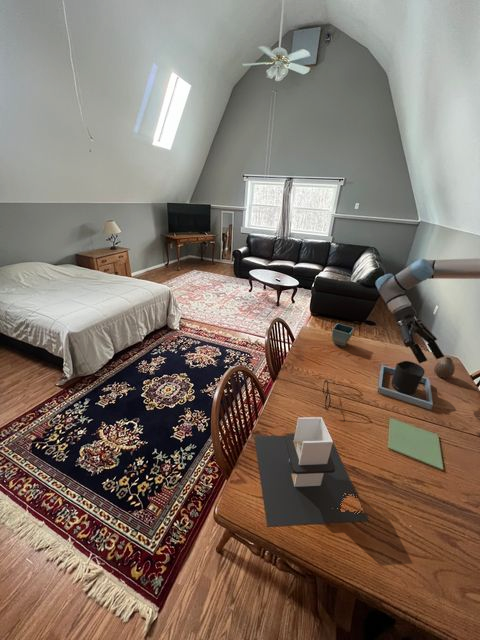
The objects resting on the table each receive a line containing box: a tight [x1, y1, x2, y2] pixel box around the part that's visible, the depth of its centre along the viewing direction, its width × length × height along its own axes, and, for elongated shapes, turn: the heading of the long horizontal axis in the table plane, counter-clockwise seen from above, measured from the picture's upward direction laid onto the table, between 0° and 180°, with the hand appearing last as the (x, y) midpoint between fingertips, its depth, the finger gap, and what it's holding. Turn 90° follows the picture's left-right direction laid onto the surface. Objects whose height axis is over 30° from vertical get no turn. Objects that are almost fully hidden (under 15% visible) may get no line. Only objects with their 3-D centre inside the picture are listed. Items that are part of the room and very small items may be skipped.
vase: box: [433, 356, 456, 379], centre depth 115 cm, size 7×7×9 cm
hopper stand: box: [253, 416, 370, 528], centre depth 70 cm, size 25×24×16 cm
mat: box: [387, 417, 444, 471], centre depth 84 cm, size 14×14×1 cm
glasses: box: [322, 379, 371, 421], centre depth 98 cm, size 14×15×5 cm
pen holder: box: [390, 360, 426, 395], centre depth 106 cm, size 9×9×10 cm
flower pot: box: [331, 323, 355, 347], centre depth 137 cm, size 9×9×9 cm
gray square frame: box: [376, 364, 434, 410], centre depth 108 cm, size 18×18×2 cm
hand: (432, 360), depth 98 cm, fingers open, 13 cm apart
